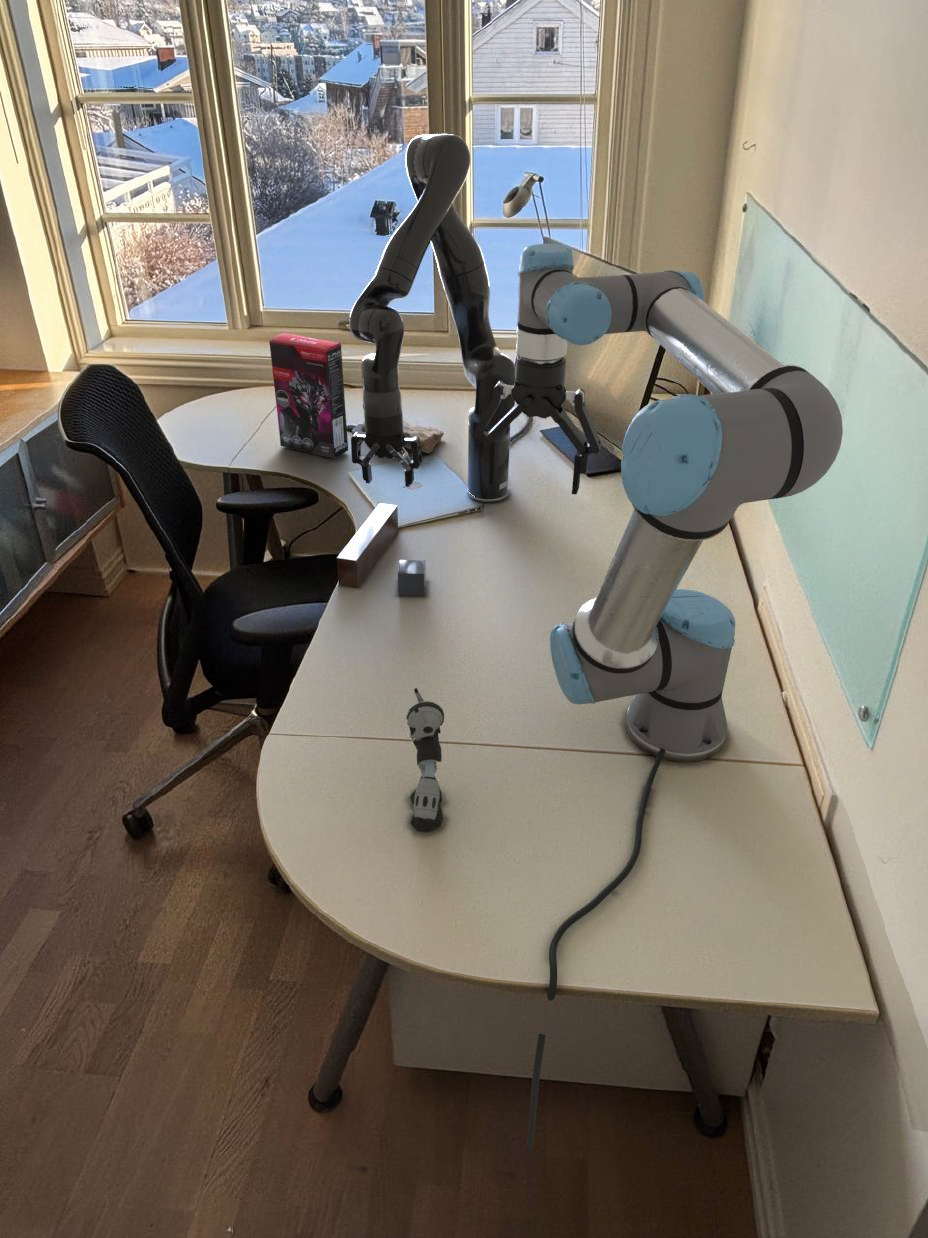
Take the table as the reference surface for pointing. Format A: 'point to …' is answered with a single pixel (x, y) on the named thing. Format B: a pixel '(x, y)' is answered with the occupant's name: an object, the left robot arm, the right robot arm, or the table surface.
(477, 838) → the table surface
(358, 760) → the table surface
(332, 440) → the graphics card box
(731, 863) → the table surface
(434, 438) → the stone
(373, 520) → the walnut bar
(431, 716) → the robot
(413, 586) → the slate cube
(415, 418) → the table surface
